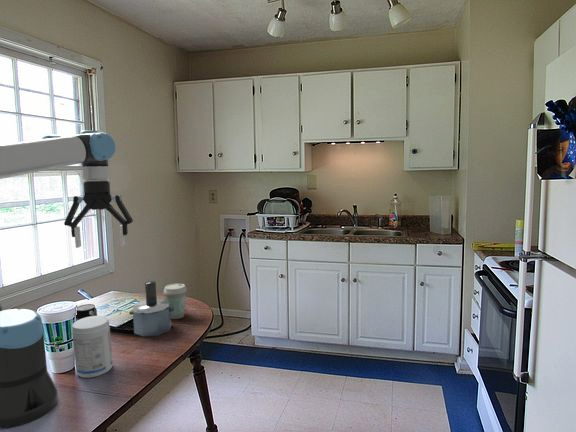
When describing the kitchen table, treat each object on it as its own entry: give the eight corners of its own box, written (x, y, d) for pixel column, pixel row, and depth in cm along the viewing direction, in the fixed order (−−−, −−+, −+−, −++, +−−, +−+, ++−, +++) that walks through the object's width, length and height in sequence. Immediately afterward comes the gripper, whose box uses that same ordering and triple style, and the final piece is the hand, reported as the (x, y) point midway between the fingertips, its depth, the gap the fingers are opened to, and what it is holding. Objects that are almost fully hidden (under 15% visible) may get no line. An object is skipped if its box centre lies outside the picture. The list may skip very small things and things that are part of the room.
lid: (167, 312, 138) (165, 286, 136) (130, 315, 136) (128, 288, 134) (171, 300, 149) (169, 276, 148) (137, 303, 147) (135, 278, 146)
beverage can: (75, 340, 135) (72, 306, 133) (96, 335, 139) (93, 302, 137) (79, 347, 130) (76, 312, 128) (101, 342, 134) (98, 307, 132)
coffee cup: (181, 321, 150) (179, 290, 149) (160, 319, 152) (158, 289, 151) (191, 313, 159) (190, 283, 157) (172, 311, 161) (170, 282, 159)
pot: (173, 334, 139) (171, 312, 138) (127, 338, 136) (125, 315, 135) (176, 321, 151) (175, 300, 150) (134, 324, 148) (133, 303, 147)
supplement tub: (91, 361, 121) (87, 314, 119) (119, 363, 119) (116, 315, 117) (68, 378, 111) (63, 327, 109) (99, 380, 110) (94, 329, 108)
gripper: (139, 179, 133) (143, 242, 136) (58, 180, 130) (64, 245, 132) (135, 180, 126) (138, 246, 129) (49, 181, 122) (54, 250, 125)
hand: (100, 246), depth 130 cm, fingers open, 13 cm apart
